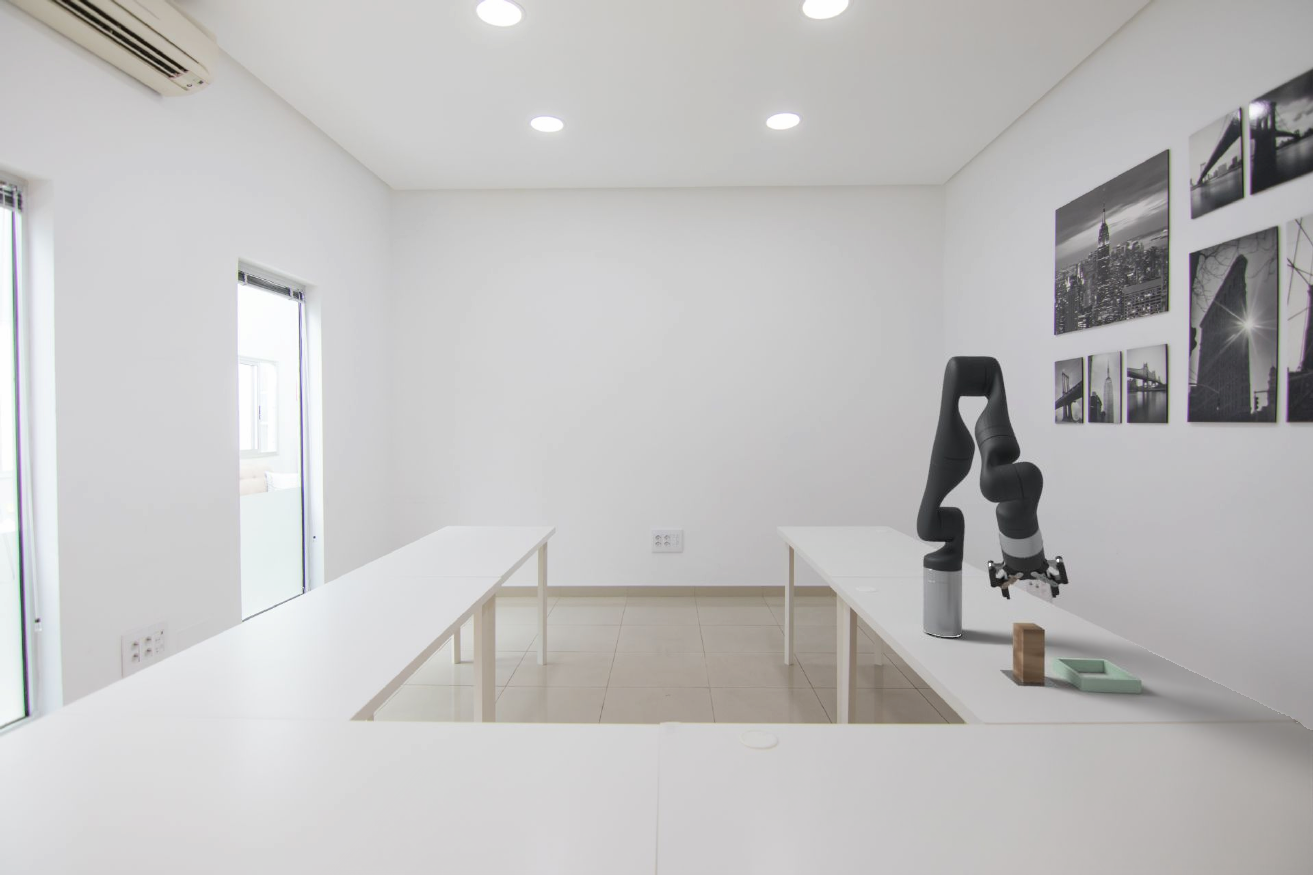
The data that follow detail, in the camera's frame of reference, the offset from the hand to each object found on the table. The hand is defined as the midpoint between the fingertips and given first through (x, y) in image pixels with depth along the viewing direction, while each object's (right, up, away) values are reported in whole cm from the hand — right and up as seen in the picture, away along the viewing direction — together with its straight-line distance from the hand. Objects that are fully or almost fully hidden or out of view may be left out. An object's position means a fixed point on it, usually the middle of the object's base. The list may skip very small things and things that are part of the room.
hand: (1030, 595), depth 130 cm
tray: (+10, -17, -6) cm, 21 cm away
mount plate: (-3, -17, -4) cm, 18 cm away
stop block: (-3, -16, -4) cm, 17 cm away
